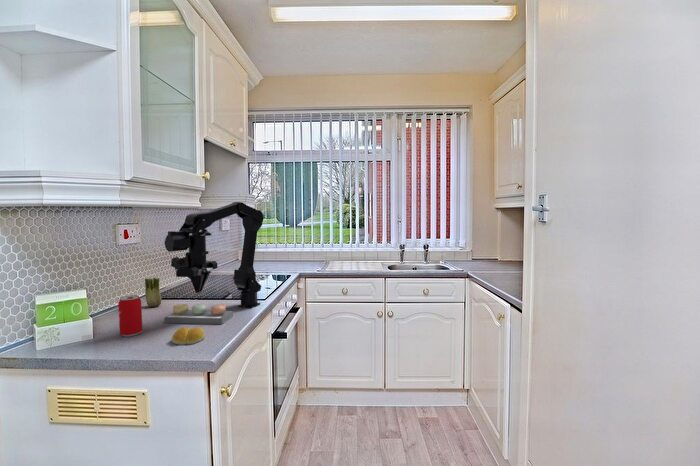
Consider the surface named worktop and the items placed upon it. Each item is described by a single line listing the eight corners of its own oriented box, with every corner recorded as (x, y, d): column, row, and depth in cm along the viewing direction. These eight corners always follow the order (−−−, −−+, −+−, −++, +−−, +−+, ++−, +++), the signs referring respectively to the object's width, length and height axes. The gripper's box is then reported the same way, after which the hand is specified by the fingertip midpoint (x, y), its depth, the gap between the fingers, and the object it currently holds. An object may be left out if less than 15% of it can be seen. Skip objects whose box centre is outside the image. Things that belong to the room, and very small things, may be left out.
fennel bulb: (144, 307, 146) (142, 277, 145) (155, 304, 150) (154, 275, 149) (152, 308, 143) (151, 279, 142) (164, 306, 147) (162, 277, 146)
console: (178, 315, 134) (178, 309, 134) (232, 316, 132) (232, 310, 132) (164, 322, 125) (164, 316, 125) (222, 324, 123) (222, 318, 123)
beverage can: (138, 329, 118) (136, 293, 118) (145, 333, 114) (144, 296, 114) (116, 334, 114) (114, 297, 113) (123, 339, 110) (122, 300, 109)
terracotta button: (214, 309, 131) (214, 304, 131) (227, 310, 130) (227, 304, 130) (208, 313, 126) (208, 308, 126) (221, 314, 125) (221, 308, 125)
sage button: (196, 309, 131) (196, 304, 131) (209, 309, 131) (209, 304, 131) (189, 313, 126) (188, 307, 126) (202, 313, 126) (202, 308, 126)
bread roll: (202, 344, 106) (201, 331, 106) (169, 346, 104) (169, 333, 104) (207, 334, 114) (207, 322, 114) (177, 336, 112) (177, 324, 112)
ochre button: (178, 309, 132) (177, 303, 132) (191, 309, 131) (190, 304, 131) (170, 313, 127) (169, 307, 127) (183, 313, 126) (183, 307, 126)
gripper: (189, 246, 137) (190, 286, 138) (159, 252, 118) (161, 298, 119) (217, 246, 136) (218, 286, 137) (192, 252, 118) (193, 298, 119)
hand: (198, 292), depth 128 cm, fingers closed
